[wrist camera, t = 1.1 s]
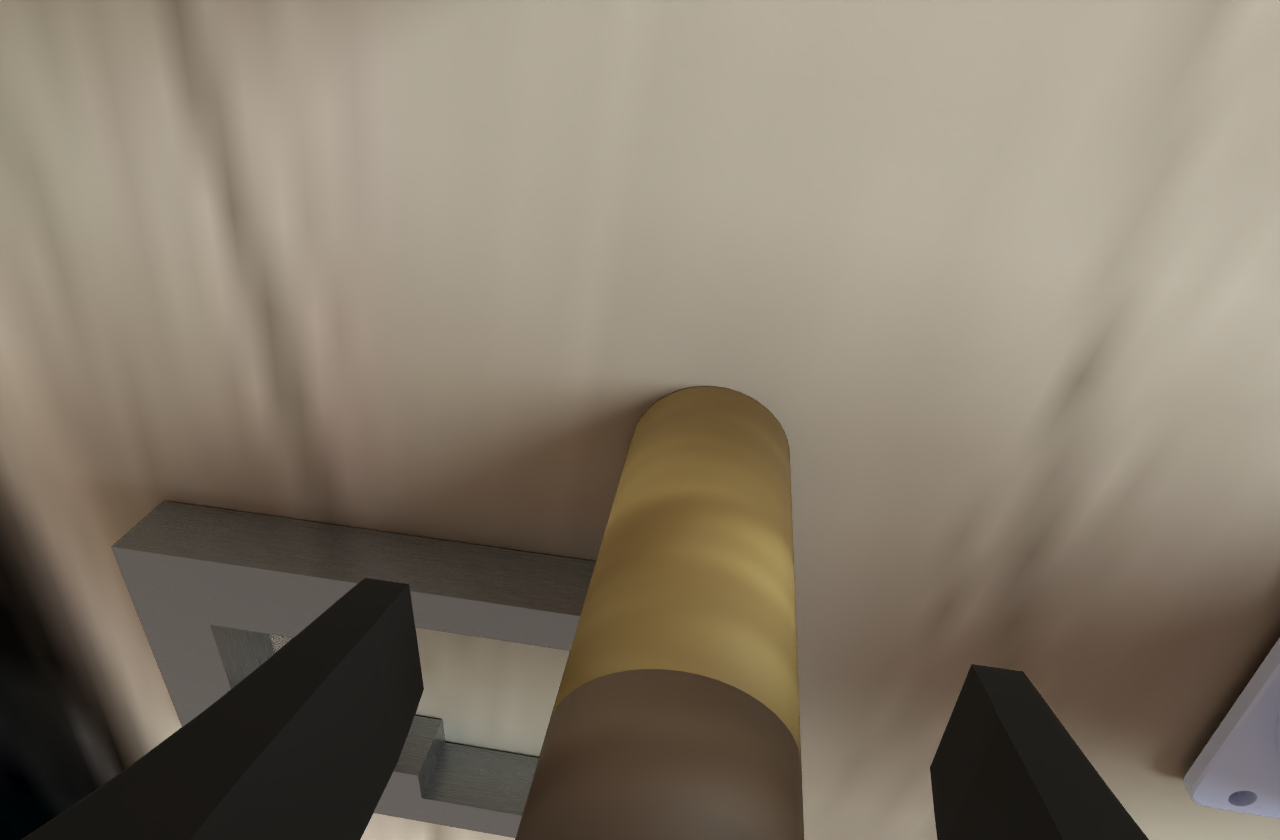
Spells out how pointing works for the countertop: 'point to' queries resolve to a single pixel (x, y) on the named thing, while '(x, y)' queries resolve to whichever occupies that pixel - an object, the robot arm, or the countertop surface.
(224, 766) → the robot arm
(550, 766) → the peg
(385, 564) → the keyhole plate
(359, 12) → the countertop surface
